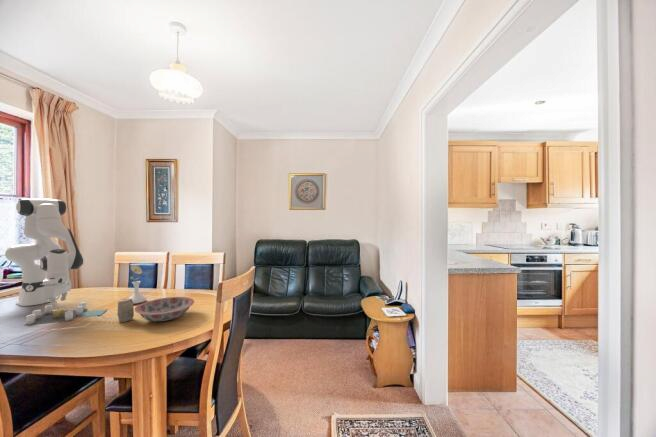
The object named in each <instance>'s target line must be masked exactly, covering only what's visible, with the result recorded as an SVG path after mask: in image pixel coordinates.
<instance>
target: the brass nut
mask: <svg viewBox="0 0 656 437" xmlns="http://www.w3.org/2000/svg"><path fill="white" fill-rule="evenodd" d="M64 311H65V307H60V308H55V309H54V308H53V310H52V312H53V318H60V317H63V316H64Z"/></svg>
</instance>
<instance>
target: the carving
mask: <svg viewBox="0 0 656 437" xmlns="http://www.w3.org/2000/svg"><path fill="white" fill-rule="evenodd" d="M116 313H117V318H118V321H119V322H120V323H126V322H129V321H131V320H133V318H134V316H135V307H134V304H133V301H132V299H130V298H129V297H127V298H120V300H118V302H117V312H116Z"/></svg>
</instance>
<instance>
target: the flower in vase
mask: <svg viewBox="0 0 656 437" xmlns="http://www.w3.org/2000/svg"><path fill="white" fill-rule="evenodd" d="M130 270H131V271H132V272H133V276H132V275H131V276H130V277H129V279H131V280H134V281H132V282H131V284H132V285H133V288H134V289H133V290H134V291H133V294H131V296H129V297H128V298H130V299H132V301H133V305H135V304H136V305H137V304H142V303H145V302H147V297H146V296H145V295H143V294H141V293H140V291H139V286H140V284H141V282H142V281H141V280H138V279H140V277H141V276H139V277H137V278H135V274H137V275H141V274H143V269H142V268H141V267H140V266H139V265H137V264H136V265H135V264H132V265H131V266H130ZM136 280H137V281H136Z"/></svg>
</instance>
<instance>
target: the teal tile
mask: <svg viewBox="0 0 656 437" xmlns="http://www.w3.org/2000/svg"><path fill="white" fill-rule="evenodd" d="M107 311H108V309H95V310H86V311H85V312H83V314H82V315H79V316H78V318H84V317H85V318H86V317H96V316H97V317H101V316H102V315H103V314H105V313H106V312H107Z"/></svg>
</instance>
